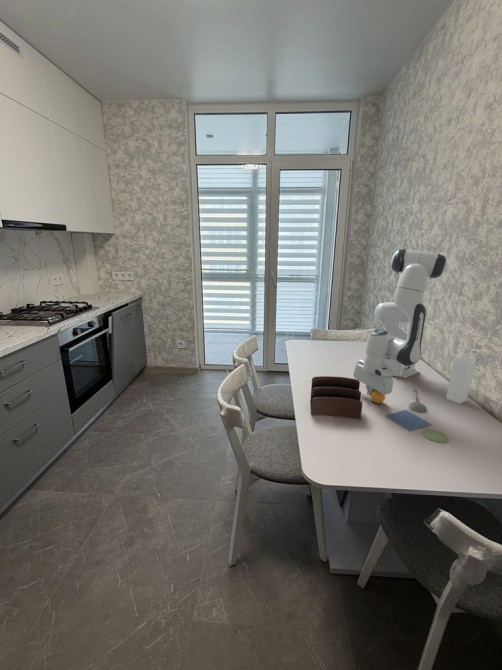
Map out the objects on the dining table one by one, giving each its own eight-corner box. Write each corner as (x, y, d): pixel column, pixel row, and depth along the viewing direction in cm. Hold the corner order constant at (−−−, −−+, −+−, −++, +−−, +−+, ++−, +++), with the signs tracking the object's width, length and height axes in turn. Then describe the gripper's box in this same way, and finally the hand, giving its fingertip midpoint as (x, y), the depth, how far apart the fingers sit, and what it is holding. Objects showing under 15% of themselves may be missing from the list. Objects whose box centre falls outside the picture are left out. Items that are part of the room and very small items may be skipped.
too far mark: (432, 428, 118) (432, 427, 118) (453, 439, 111) (453, 439, 111) (418, 432, 115) (418, 432, 115) (438, 445, 108) (438, 444, 108)
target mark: (405, 410, 131) (405, 409, 131) (431, 424, 121) (431, 424, 121) (384, 415, 127) (384, 415, 127) (409, 431, 116) (409, 430, 116)
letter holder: (310, 403, 136) (312, 374, 132) (356, 407, 133) (360, 377, 129) (310, 415, 127) (313, 383, 123) (360, 420, 124) (365, 387, 120)
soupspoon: (408, 413, 131) (426, 418, 129) (410, 406, 130) (427, 411, 127) (407, 391, 150) (422, 394, 148) (409, 385, 149) (424, 388, 146)
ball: (374, 395, 142) (378, 385, 139) (385, 403, 138) (389, 393, 135) (366, 399, 139) (369, 388, 136) (376, 407, 135) (380, 397, 132)
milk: (466, 401, 140) (477, 355, 134) (459, 404, 138) (470, 357, 131) (452, 395, 146) (462, 351, 139) (445, 398, 143) (455, 353, 137)
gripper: (352, 359, 145) (348, 386, 148) (385, 375, 127) (380, 406, 130) (362, 358, 147) (359, 384, 151) (397, 373, 129) (392, 403, 133)
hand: (369, 394), depth 140 cm, fingers closed
